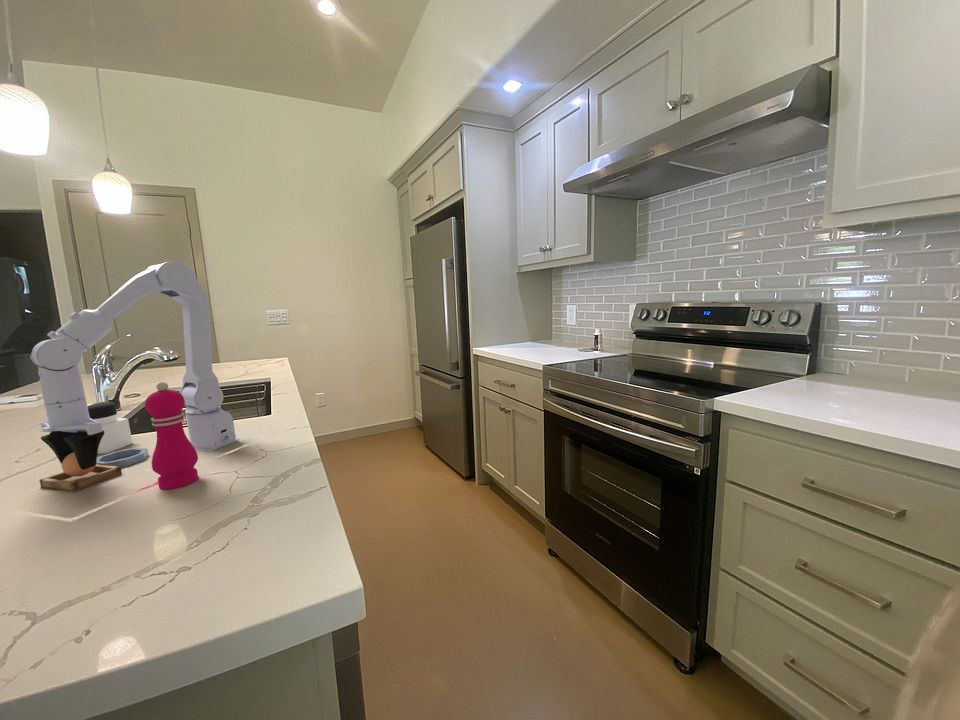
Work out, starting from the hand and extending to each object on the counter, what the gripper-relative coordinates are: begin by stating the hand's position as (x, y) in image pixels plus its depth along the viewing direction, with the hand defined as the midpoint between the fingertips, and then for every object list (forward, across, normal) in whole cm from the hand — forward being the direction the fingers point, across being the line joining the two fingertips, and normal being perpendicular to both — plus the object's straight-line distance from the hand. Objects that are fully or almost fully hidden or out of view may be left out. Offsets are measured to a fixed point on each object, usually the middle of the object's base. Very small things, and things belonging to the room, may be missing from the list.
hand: (79, 466), depth 82 cm
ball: (+2, 0, 0) cm, 2 cm away
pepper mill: (+4, +21, +4) cm, 22 cm away
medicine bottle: (+4, -18, +15) cm, 24 cm away
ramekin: (+3, -3, +9) cm, 10 cm away
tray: (+3, 0, 0) cm, 3 cm away
